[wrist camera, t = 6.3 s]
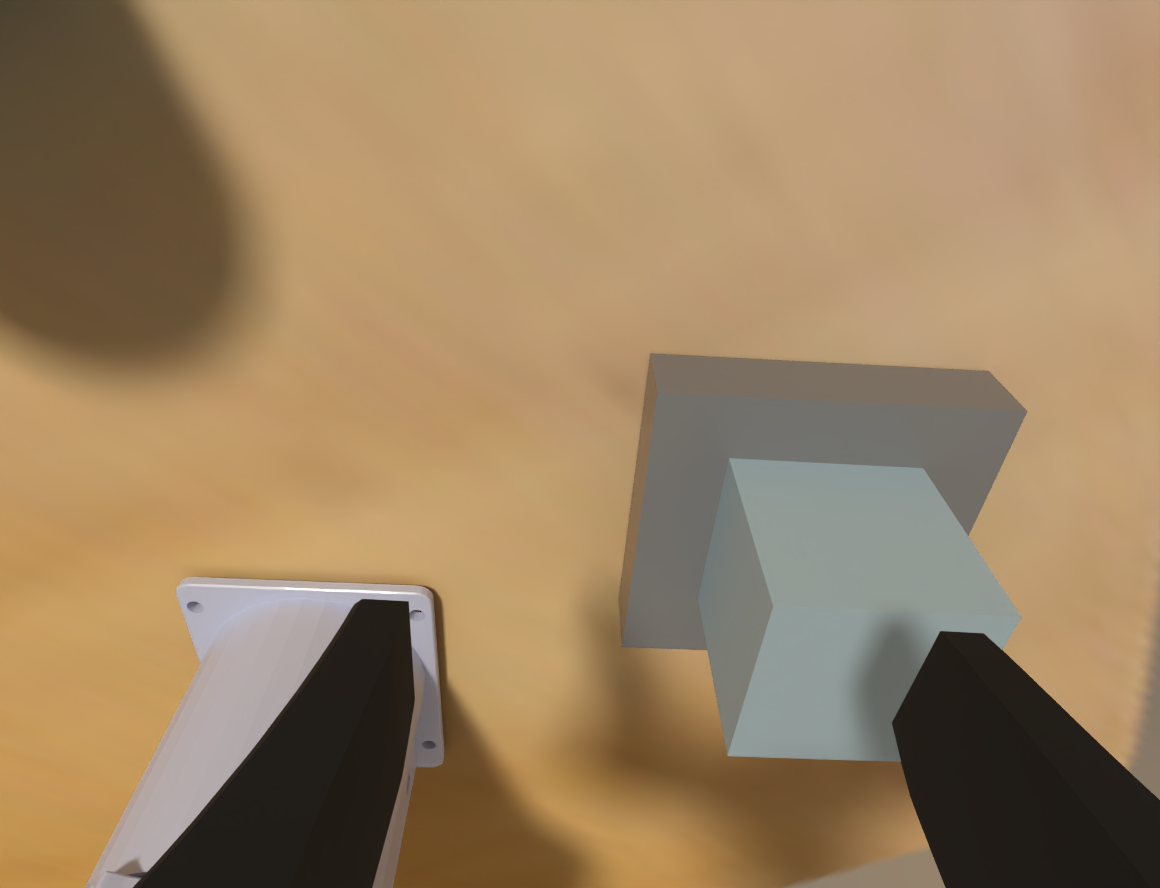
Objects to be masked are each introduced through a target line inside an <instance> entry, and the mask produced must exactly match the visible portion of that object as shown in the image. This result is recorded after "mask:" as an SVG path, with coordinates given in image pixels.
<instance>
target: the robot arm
mask: <svg viewBox="0 0 1160 888" xmlns="http://www.w3.org/2000/svg"><path fill="white" fill-rule="evenodd" d="M176 596H177V598H178V601H179V604H180V607H181V610H182V613H183V616H184V619H185V621H186V624H187V627H188V630H189V633H190V636H191V639H192V641H193V644H194V647H195V650H196V653H197V656H198V659H199V662H200V666H199V668H198V670H197V672H196V674H195V676H194V677H193V679H192V681H191V683H190V685H189V687H188V689H187V691H186V693H185V695H184V697H183V699H182V701H181V703H180V705H179V706H178V708H177V710H176V712H175V714H174V716H173V718H172V720H171V722H170V724H169V726H168V728H167V730H166V732H165V734H164V735H163V737H162V739H161V741H160V743H159V745H158V747H157V749H156V751H155V753H154V755H153V757H152V759H151V761H150V763H149V764H148V766H147V768H146V770H145V772H144V774H143V776H142V778H141V780H140V782H139V784H138V786H137V788H136V790H135V792H134V794H133V795H132V797H131V799H130V801H129V803H128V805H127V807H126V809H125V811H124V813H123V815H122V817H121V819H120V821H119V823H118V824H117V826H116V828H115V830H114V832H113V834H112V836H111V838H110V840H109V842H108V844H107V846H106V848H105V850H104V852H103V853H102V855H101V857H100V859H99V861H98V863H97V865H96V867H95V869H94V871H93V873H92V875H91V877H90V879H89V881H88V882H87V884H86V886H85V888H393V885H394V880H395V875H396V869H397V864H398V859H399V854H400V849H401V843H402V838H403V833H404V828H405V823H406V817H407V812H408V807H409V802H410V796H411V791H412V786H413V781H414V776H415V770H416V767H437V766H439V765H441V764H442V763H443V760H444V754H445V750H444V736H443V722H442V708H441V694H440V680H439V666H438V652H437V638H436V624H435V610H434V597H433V594H432V592H431V591H430V590H429V589H427V588H425V587H423V586H416V585H391V584H365V583H340V582H314V581H289V580H263V579H238V578H212V577H187V578H185V579H183V580H182V581H181V583H180V584H179V586H178V587H177V589H176ZM197 602H198V603H197ZM414 610H420V611H422V612H417V611H414ZM892 726H893V730H894V734H895V739H896V743H897V747H898V751H899V755H900V759H901V764H902V767H903V771H904V774H905V778H906V782H907V785H908V789H909V793H910V796H911V799H912V802H913V805H914V807H915V810H916V813H917V816H918V818H919V821H920V823H921V826H922V829H923V831H924V834H925V836H926V839H927V841H928V844H929V847H930V849H931V852H932V854H933V857H934V860H935V862H936V864H937V867H938V869H939V872H940V875H941V877H942V880H943V882H944V885H945V887H946V888H1160V800H1159V799H1158V798H1157V797H1156V796H1155V795H1154V794H1153V793H1151V792H1150V791H1149V790H1148V789H1147V788H1146V787H1145V786H1144V785H1143V784H1142V783H1140V782H1139V780H1137V779H1136V778H1135V777H1134V776H1133V775H1132V774H1131V773H1130V772H1129V771H1128V770H1127V769H1126V768H1125V767H1124V766H1122V765H1121V764H1120V763H1119V762H1118V761H1117V760H1116V759H1115V758H1114V757H1113V756H1112V755H1111V754H1110V753H1109V752H1108V751H1107V750H1106V749H1105V748H1103V747H1102V746H1101V745H1100V744H1099V743H1098V742H1097V741H1096V740H1095V739H1094V738H1093V737H1092V736H1091V735H1090V734H1089V733H1088V732H1087V731H1086V730H1085V729H1084V728H1083V727H1082V726H1081V725H1079V724H1078V723H1077V722H1076V721H1075V720H1074V719H1073V718H1072V717H1071V716H1070V715H1069V714H1068V713H1067V712H1066V711H1065V710H1064V709H1063V708H1062V707H1061V706H1060V705H1059V704H1058V703H1057V702H1056V701H1055V700H1054V699H1053V698H1052V697H1051V696H1050V695H1048V694H1047V693H1046V692H1045V691H1044V690H1043V689H1042V688H1041V687H1040V686H1039V685H1038V684H1037V683H1036V682H1035V681H1034V680H1033V679H1032V678H1031V677H1030V676H1029V675H1028V674H1027V673H1026V672H1025V671H1024V670H1023V669H1022V668H1021V667H1019V666H1018V665H1017V664H1016V663H1015V662H1014V661H1013V660H1012V659H1011V658H1010V657H1009V656H1008V655H1007V654H1006V653H1005V652H1004V651H1003V650H1002V649H1000V648H999V647H998V646H997V645H996V644H995V643H994V642H993V641H992V640H991V639H989V638H988V637H987V636H986V635H985V634H984V633H969V632H951V631H940V633H939V634H938V636H937V638H936V640H935V642H934V644H933V646H932V648H931V650H930V651H929V653H928V655H927V657H926V659H925V661H924V663H923V665H922V667H921V668H920V670H919V672H918V674H917V676H916V678H915V680H914V682H913V684H912V685H911V687H910V689H909V691H908V693H907V695H906V697H905V699H904V700H903V702H902V704H901V706H900V708H899V710H898V712H897V714H896V716H895V717H894V719H893V721H892Z"/></svg>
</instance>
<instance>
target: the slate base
mask: <svg viewBox="0 0 1160 888" xmlns="http://www.w3.org/2000/svg"><path fill="white" fill-rule="evenodd" d="M1026 413H1027V410H1026V409H1025V408H1024V407H1023V406H1022V405H1021V404H1020V403H1019V402H1018V401H1017V400H1016V399H1015V398H1014V397H1013V396H1012V395H1011V394H1010V393H1009V392H1008V391H1007V390H1006V388H1005V387H1004V386H1003V385H1002V384H1001V383H1000V382H999V381H998V380H997V379H996V378H995V377H994V376H993V375H992V374H991V373H990V372H989V371H973V370H954V369H935V368H915V367H896V366H877V365H858V364H839V363H820V362H800V361H781V360H762V359H743V358H724V357H704V356H685V355H666V354H650V360H649V367H648V375H647V383H646V391H645V398H644V406H643V414H642V422H641V430H640V437H639V445H638V453H637V461H636V469H635V476H634V484H633V492H632V500H631V508H630V515H629V523H628V531H627V539H626V546H625V554H624V562H623V570H622V578H621V585H620V593H619V609H620V624H621V639H622V647H635V648H663V649H690V650H707V645H706V639H705V634H704V629H703V623H702V618H701V613H700V607H699V602H698V596H699V591H700V587H701V582H702V578H703V573H704V569H705V564H706V560H707V555H708V551H709V546H710V542H711V537H712V533H713V528H714V524H715V519H716V515H717V510H718V506H719V501H720V497H721V492H722V488H723V483H724V479H725V474H726V470H727V465H728V461H729V458H735V459H754V460H774V461H793V462H812V463H832V464H851V465H870V466H890V467H909V468H923V469H924V470H925V472H926V473H927V475H928V476H929V478H930V479H931V481H932V482H933V484H934V485H935V487H936V488H937V490H938V491H939V493H940V494H941V496H942V497H943V499H944V500H945V502H946V503H947V505H948V506H949V508H950V509H951V511H952V512H953V514H954V516H955V517H956V519H957V520H958V522H959V523H960V525H961V526H962V528H963V529H964V531H965V532H966V534H967V535H968V536H969V533H970V531H971V529H972V527H973V525H974V523H975V521H976V519H977V517H978V514H979V512H980V510H981V508H982V506H983V504H984V502H985V500H986V498H987V495H988V493H989V491H990V489H991V487H992V485H993V483H994V481H995V479H996V476H997V474H998V472H999V470H1000V468H1001V466H1002V464H1003V462H1004V460H1005V457H1006V455H1007V453H1008V451H1009V449H1010V447H1011V445H1012V443H1013V441H1014V438H1015V436H1016V434H1017V432H1018V430H1019V428H1020V426H1021V424H1022V422H1023V420H1024V417H1025V415H1026Z"/></svg>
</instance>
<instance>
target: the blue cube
mask: <svg viewBox="0 0 1160 888" xmlns="http://www.w3.org/2000/svg"><path fill="white" fill-rule="evenodd" d="M698 602H699V607H700V613H701V618H702V623H703V629H704V634H705V639H706V645H707V650H708V655H709V661H710V666H711V671H712V677H713V682H714V687H715V693H716V698H717V703H718V709H719V714H720V719H721V725H722V730H723V735H724V741H725V746H726V751H727V756H740V757H769V758H798V759H828V760H857V761H886V762H901V759H900V755H899V751H898V747H897V743H896V739H895V734H894V730H893V726H892V721H893V719H894V717H895V716H896V714H897V712H898V710H899V708H900V706H901V704H902V702H903V700H904V699H905V697H906V695H907V693H908V691H909V689H910V687H911V685H912V684H913V682H914V680H915V678H916V676H917V674H918V672H919V670H920V668H921V667H922V665H923V663H924V661H925V659H926V657H927V655H928V653H929V651H930V650H931V648H932V646H933V644H934V642H935V640H936V638H937V636H938V634H939V633H940V631H951V632H969V633H984V634H985V635H986V636H987V637H988V638H989V639H991V640H992V641H993V642H994V643H995V644H996V645H997V646H998V647H999V648H1000V649H1002V650H1003V648H1004V646H1005V645H1006V643H1007V641H1008V639H1009V638H1010V636H1011V634H1012V633H1013V631H1014V629H1015V627H1016V626H1017V624H1018V622H1019V621H1020V619H1021V615H1020V614H1019V612H1018V611H1017V609H1016V608H1015V606H1014V605H1013V603H1012V602H1011V600H1010V599H1009V597H1008V596H1007V594H1006V593H1005V591H1004V590H1003V588H1002V587H1001V585H1000V584H999V582H998V581H997V579H996V578H995V576H994V575H993V573H992V572H991V570H990V568H989V567H988V565H987V564H986V562H985V561H984V559H983V558H982V556H981V555H980V553H979V552H978V550H977V549H976V547H975V546H974V544H973V543H972V541H971V540H970V538H969V537H968V535H967V534H966V532H965V531H964V529H963V528H962V526H961V525H960V523H959V522H958V520H957V519H956V517H955V516H954V514H953V512H952V511H951V509H950V508H949V506H948V505H947V503H946V502H945V500H944V499H943V497H942V496H941V494H940V493H939V491H938V490H937V488H936V487H935V485H934V484H933V482H932V481H931V479H930V478H929V476H928V475H927V473H926V472H925V470H924V469H923V468H909V467H890V466H870V465H851V464H832V463H812V462H793V461H774V460H754V459H735V458H729V461H728V465H727V470H726V474H725V479H724V483H723V488H722V492H721V497H720V501H719V506H718V510H717V515H716V519H715V524H714V528H713V533H712V537H711V542H710V546H709V551H708V555H707V560H706V564H705V569H704V573H703V578H702V582H701V587H700V591H699V596H698Z"/></svg>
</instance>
